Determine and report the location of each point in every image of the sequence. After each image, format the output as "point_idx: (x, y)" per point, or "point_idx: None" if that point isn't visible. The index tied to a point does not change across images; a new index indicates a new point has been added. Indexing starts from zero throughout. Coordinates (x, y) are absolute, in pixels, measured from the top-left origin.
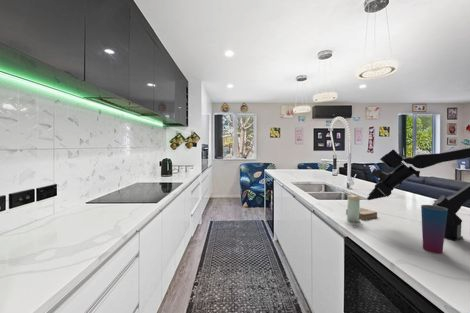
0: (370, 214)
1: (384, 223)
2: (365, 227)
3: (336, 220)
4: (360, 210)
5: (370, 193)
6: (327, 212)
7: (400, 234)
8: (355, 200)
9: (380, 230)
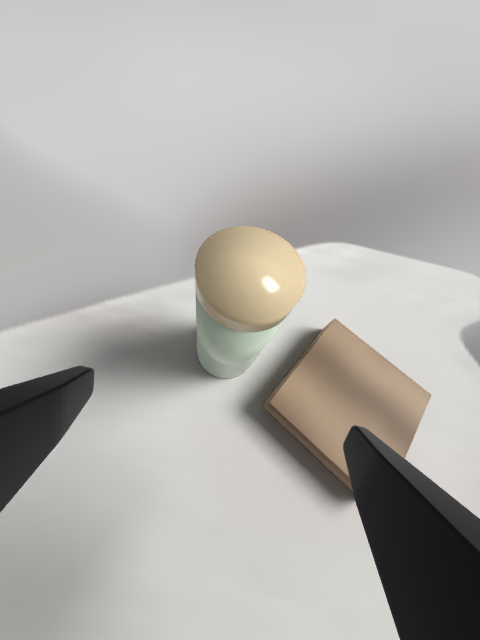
0: (318, 451)
1: (236, 534)
2: (114, 398)
3: (190, 279)
4: (358, 393)
5: (368, 450)
6: (301, 256)
7: (4, 629)
8: (196, 294)
9: (74, 482)
